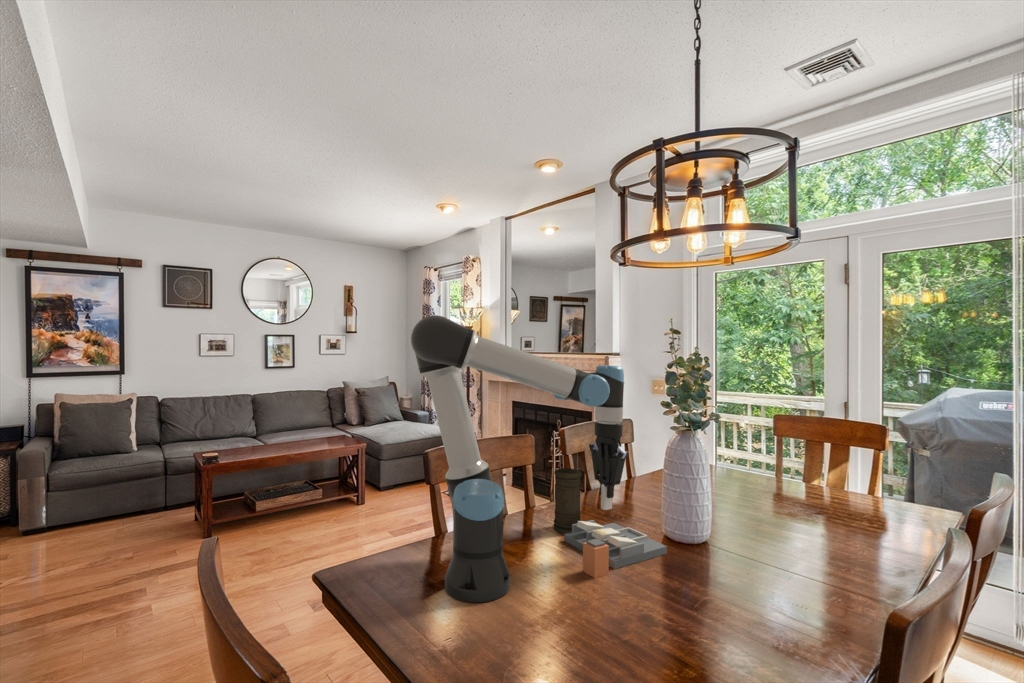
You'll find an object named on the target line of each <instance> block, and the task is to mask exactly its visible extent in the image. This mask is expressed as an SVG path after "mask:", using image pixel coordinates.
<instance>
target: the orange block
mask: <svg viewBox="0 0 1024 683" xmlns="http://www.w3.org/2000/svg"><path fill="white" fill-rule="evenodd" d="M609 568H610V566H609V546H608V545H606V544H605V543H604V542H602V541H600V540H598V539H593V540H589V541H587V542H585V543H583V551H582V571H583V573H585V574H587V575H589V576H591V577H592V578H593V579H597V578H600V577H604V576H607V575H609V573H610V572H609V570H610V569H609Z"/></svg>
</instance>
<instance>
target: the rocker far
mask: <svg viewBox="0 0 1024 683" xmlns="http://www.w3.org/2000/svg"><path fill="white" fill-rule="evenodd" d="M577 527H579V528H581V529H583V530H585V531H592V530H596V529H601V528H605V527H603V526H602V525H601V524H600V523H597V522H595V523H592V522H586V521H584V520H581V521H578V522H577Z"/></svg>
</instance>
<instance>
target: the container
mask: <svg viewBox="0 0 1024 683" xmlns="http://www.w3.org/2000/svg"><path fill="white" fill-rule="evenodd" d="M553 474H554V479H555V484H554V485H555V486H554V488H555V492H554V493H555V494H554V496H555V501H554V502H555V504H554V505H555V507H554V508H555V509H554V519H553V525H552V527H553V531H555V532H556V533H559V534H561V535H562V534H563V535H564V534H567V533H571V532H572V524H576V523H577V522H578V521H582V520H581V515H582V514H581V478H582V477H581V476H582V474H583V473H582V471H581V470H579V469H576V468H567V467H564V468H563V467H562V468H556V469H555V470H554V472H553Z"/></svg>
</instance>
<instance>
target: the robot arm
mask: <svg viewBox="0 0 1024 683" xmlns="http://www.w3.org/2000/svg"><path fill="white" fill-rule="evenodd" d="M410 343H411V344H410V345H411V347H412V349H413V351H414V354H415V359H416V362H417V366H418V367H417V368H418V370H419V375H421V376H422V377H424V378H426V380H427V382H428V386H429V390H430V394H431V399H432V402H433V407H434V410H435V416H436V420H437V424H438V426H439V427H438V428H439V432H440V436H441V440H442V444H443V449H444V452H445V456H446V457H445V458H446V460H447V461H446V462H447V464H448V470H447V472H446V473H445V475H444V477H445V482H446V486H447V490H448V494H449V499H450V503H451V504H450V505H451V509H452V518H453V519H452V520H453V522H452V523H453V524H452V526H453V528H452V531H453V532H452V533H453V535H452V537H453V538H452V555H451V558H450V562H449V564H448V567H447V571H446V573H445V576H444V590H445V593H446V594H447V595H448V596H449V597H452V598H453V599H456V600H458V601H463V602H465V603H466V602H467V603H486V602H490V601H491V602H492V601H495V600H497V599H501V598H502V597H503V596H505V595H506V594H507V593H508V592H509V590H510V586H511V575H510V571H509V569H508V565H507V563H506V559H505V555H504V506H505V497H504V490H503V488H502V486H501V485H500V484H499V483H497V482H495V481H493V478H492V475H491V474H492V473H491V471H490V466H489V463H488V462H486V461H485V460H483V459H482V458H481V453H480V450H479V445H478V441H477V437H476V432H475V428H474V425H473V424H474V423H473V421H472V415H471V411H470V407H469V403H468V400H467V399H468V398H467V394H466V390H465V387H464V382H463V378H462V374H461V369H465V368H467V367H469V368H471V369H475V370H477V371H482V372H484V373H487V374H490V375H492V376H496V377H499V378H503V379H506V380H509V381H512V382H515V383H519V384H521V385H524V386H527V387H530V388H533V389H536V390H540V391H544V392H546V393H549V394H552V396H553V397H554V399H556V400H563V401H567V400H570V401H574V402H577V403H580V404H583V405H584V406H587V407H592V408H593V407H594V409H595V410H594V420H595V423H594V435H595V436H596V437H595V442H593V443H590V444H589V445H588V448H589V450H590V453H591V459H592V469H593V477H594V480H595V481H597V482H599V484H600V485H599V495H600V510H604V511H607V510H612V508H613V498H614V496H615V495H614V494H615V486H618V485H620V484H621V480H622V476H623V472H624V468H625V464H626V463H625V462H626V458H627V457H628V456H629V452H628V450H624V449H623V447H622V442H621V438H622V437H623V433H624V432H623V431H624V429H623V428H624V427H623V426H624V425H623V423H621V422H623V419H624V418H623V416H624V391H625V390H624V387H625V372H624V369H623V367H622V366H621V365H607V364H605V365H604V364H601V365H597V366H596V367H595V368H596V369H595V371H594V372H586V371H584V370H580V369H576V368H574V367H571V366H568V365H565V364H563V363H559V362H556V361H554V360H551V359H548V358H545V357H541V356H538V355H536V354H532V353H530V352H527V351H525V350H524V351H523V350H521V349H518V348H514V347H512V346H508V345H507V344H504V343H501V342H497V341H494V340H491V339H488V338H485V337H482V336H479V335H478V334H477V332H476V330H475V329H472V328H469V327H467V326H464V325H462V324H459V323H457V322H455V321H453V320H451V319H449V318H447V317H445V316H442V315H437V314H436V315H434V314H433V315H429V316H428V315H427V316H426V317H424V318H422V319H420V320H418V322H417V323H416V324H415V326H414V327H413V329H412V332H411V335H410Z"/></svg>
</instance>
